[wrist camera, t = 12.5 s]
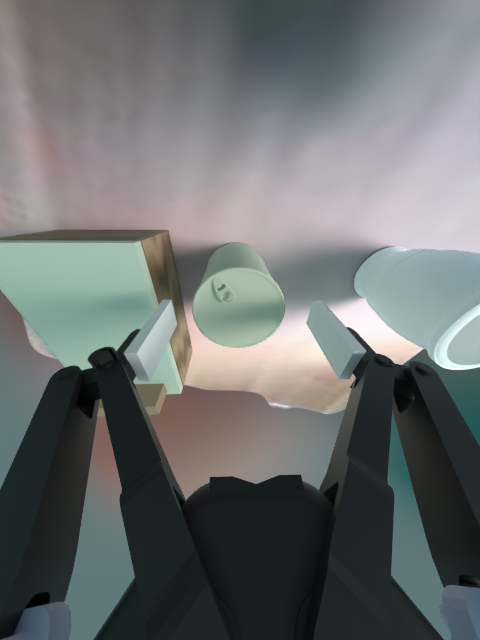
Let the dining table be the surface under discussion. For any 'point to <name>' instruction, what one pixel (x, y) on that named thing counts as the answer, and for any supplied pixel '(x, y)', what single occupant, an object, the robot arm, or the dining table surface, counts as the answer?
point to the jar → (427, 300)
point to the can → (237, 298)
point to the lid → (86, 302)
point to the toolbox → (159, 268)
